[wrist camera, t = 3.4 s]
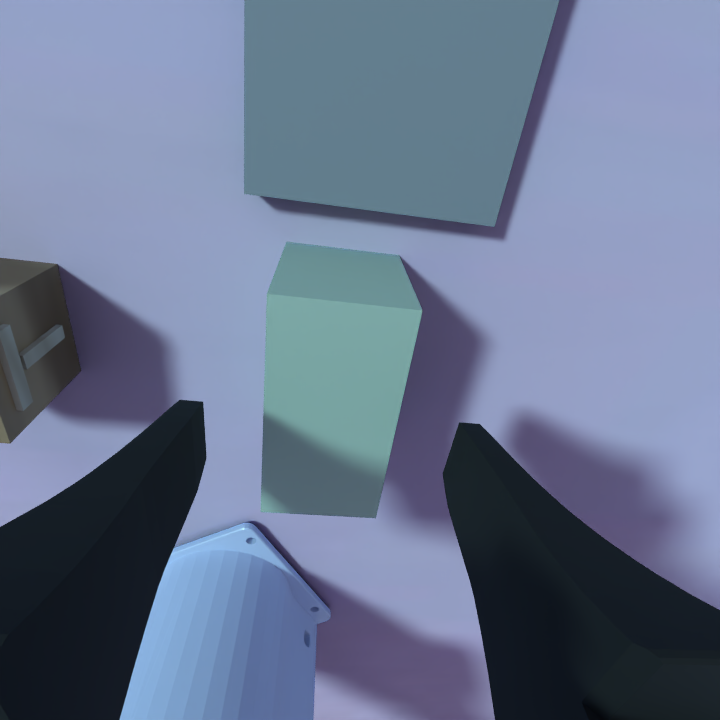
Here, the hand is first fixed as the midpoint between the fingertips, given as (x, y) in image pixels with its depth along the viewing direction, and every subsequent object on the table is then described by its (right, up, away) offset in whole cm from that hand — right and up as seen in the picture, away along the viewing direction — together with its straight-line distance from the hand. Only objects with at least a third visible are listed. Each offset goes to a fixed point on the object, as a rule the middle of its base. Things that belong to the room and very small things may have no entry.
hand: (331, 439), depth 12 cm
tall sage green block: (0, +3, +5) cm, 6 cm away
